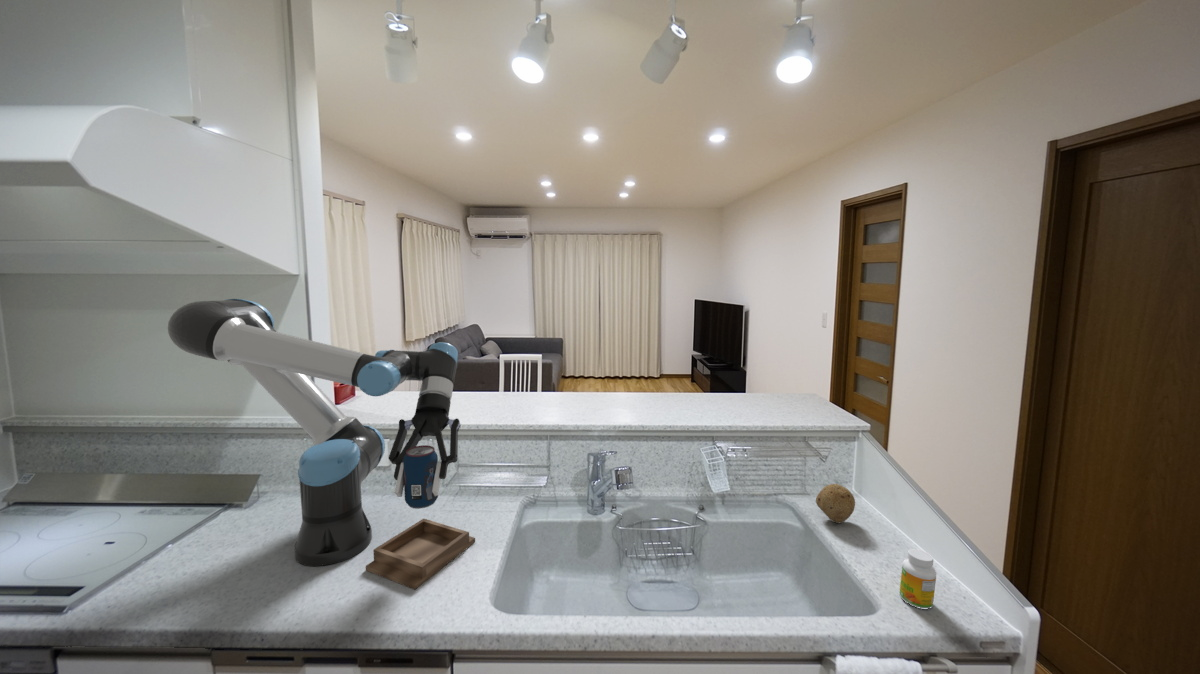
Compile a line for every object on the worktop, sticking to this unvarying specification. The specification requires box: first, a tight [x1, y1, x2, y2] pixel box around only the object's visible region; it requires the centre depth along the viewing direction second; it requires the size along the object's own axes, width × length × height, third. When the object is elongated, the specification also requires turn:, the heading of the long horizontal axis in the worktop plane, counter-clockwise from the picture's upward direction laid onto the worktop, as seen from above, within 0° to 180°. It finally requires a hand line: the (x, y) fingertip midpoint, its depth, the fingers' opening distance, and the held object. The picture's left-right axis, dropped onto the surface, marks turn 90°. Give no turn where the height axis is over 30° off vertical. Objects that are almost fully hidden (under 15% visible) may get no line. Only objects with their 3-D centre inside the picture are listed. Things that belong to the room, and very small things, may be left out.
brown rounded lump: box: [815, 483, 856, 524], centre depth 114 cm, size 9×9×10 cm
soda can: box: [403, 444, 439, 510], centre depth 95 cm, size 7×7×12 cm
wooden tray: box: [365, 518, 476, 590], centre depth 97 cm, size 14×18×4 cm
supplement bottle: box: [898, 548, 937, 608], centre depth 85 cm, size 5×5×10 cm
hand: (416, 493), depth 92 cm, fingers closed on soda can, 7 cm apart
